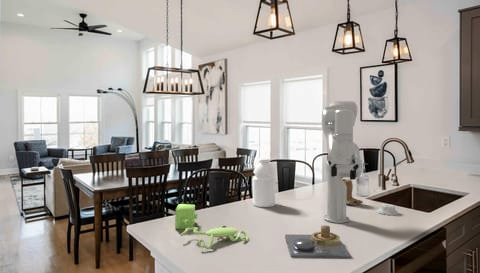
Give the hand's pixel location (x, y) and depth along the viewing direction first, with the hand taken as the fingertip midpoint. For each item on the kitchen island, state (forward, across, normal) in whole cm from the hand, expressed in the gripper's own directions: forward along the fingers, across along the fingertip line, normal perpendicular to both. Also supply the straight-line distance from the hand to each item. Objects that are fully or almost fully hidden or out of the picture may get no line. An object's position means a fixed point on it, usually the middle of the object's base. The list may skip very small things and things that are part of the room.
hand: (343, 177), depth 142 cm
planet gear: (+25, 0, -11) cm, 27 cm away
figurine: (+27, -30, -47) cm, 62 cm away
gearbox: (+27, -55, -48) cm, 77 cm away
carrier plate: (+26, 0, -18) cm, 32 cm away
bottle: (+26, -64, +9) cm, 70 cm away
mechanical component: (+27, -10, +52) cm, 60 cm away
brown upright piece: (+27, -36, +52) cm, 68 cm away
